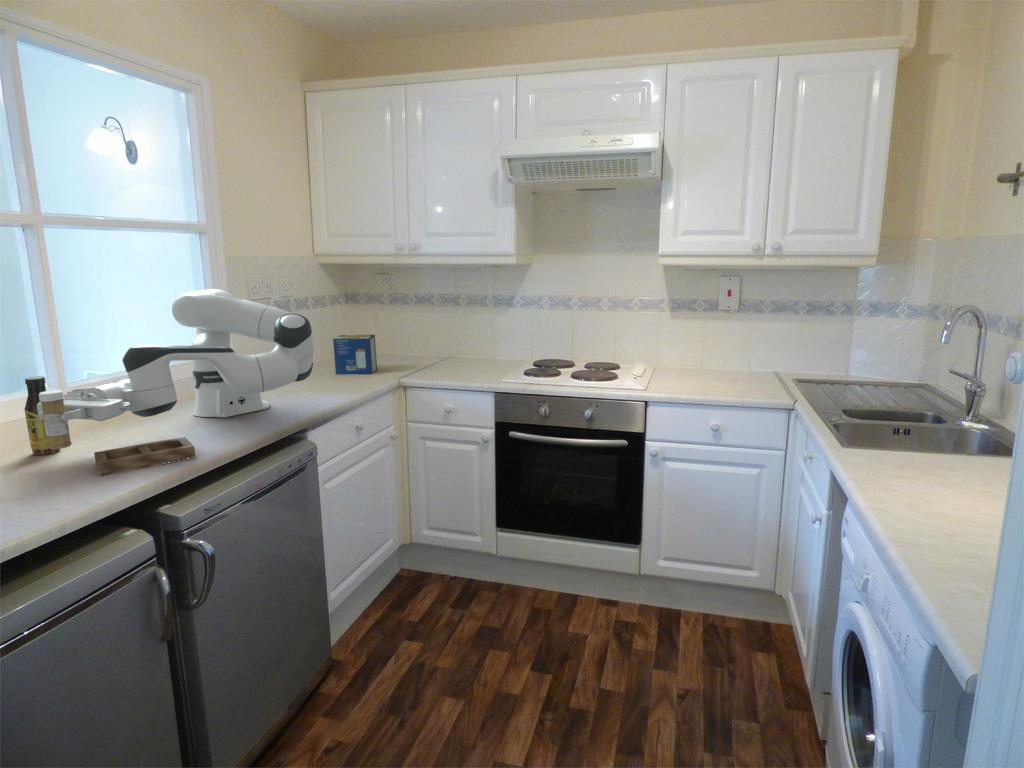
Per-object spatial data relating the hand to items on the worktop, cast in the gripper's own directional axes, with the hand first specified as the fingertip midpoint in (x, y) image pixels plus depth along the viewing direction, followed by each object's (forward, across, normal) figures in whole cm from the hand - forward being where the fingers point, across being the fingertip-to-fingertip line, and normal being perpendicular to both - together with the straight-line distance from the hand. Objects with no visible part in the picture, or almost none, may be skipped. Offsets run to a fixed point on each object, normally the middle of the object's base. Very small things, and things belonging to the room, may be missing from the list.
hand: (51, 417), depth 144 cm
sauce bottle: (-11, +16, -13) cm, 24 cm away
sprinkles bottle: (-1, 0, -8) cm, 8 cm away
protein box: (-126, -14, -14) cm, 128 cm away
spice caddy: (-9, -15, -13) cm, 22 cm away
